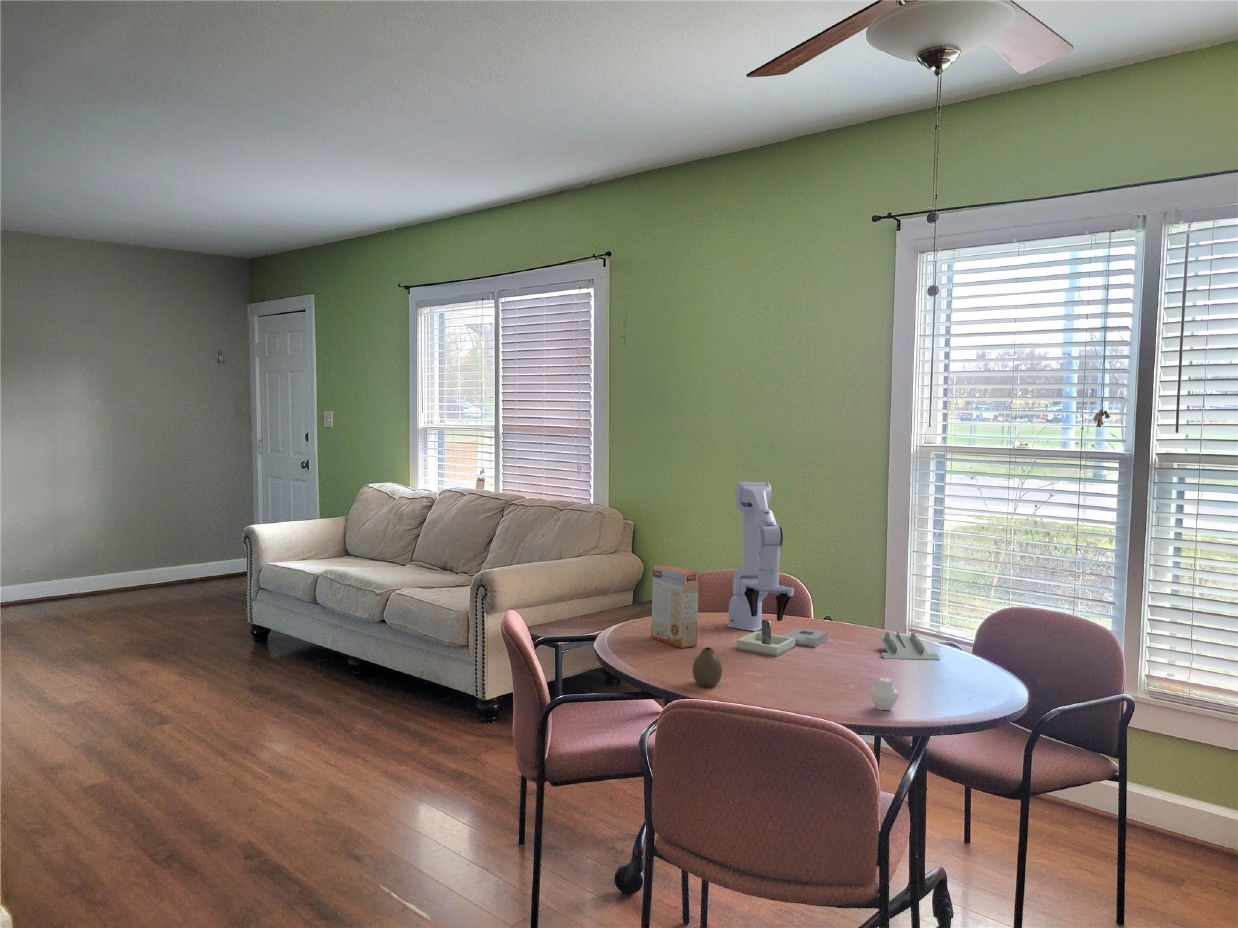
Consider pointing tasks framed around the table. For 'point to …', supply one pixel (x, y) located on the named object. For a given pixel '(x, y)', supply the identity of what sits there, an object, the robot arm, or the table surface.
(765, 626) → the pin
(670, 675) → the table surface
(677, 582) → the cracker box
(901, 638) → the metal bracket
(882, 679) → the white rounded piece
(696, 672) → the vase
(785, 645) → the tray
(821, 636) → the block
